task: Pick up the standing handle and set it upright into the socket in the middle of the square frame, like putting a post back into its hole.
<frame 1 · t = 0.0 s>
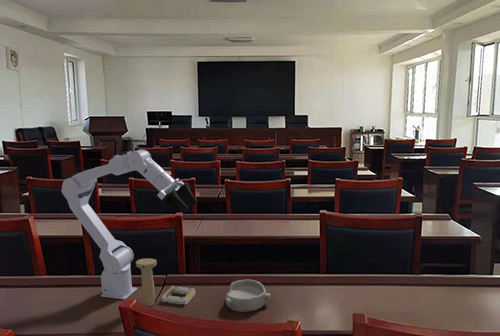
hand: (190, 207, 129), 32 cm above the table, tool tilted 50°, fingers open, 7 cm apart
square frame: (179, 297, 138), on the table
dish: (246, 303, 134), on the table
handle: (149, 305, 134), on the table
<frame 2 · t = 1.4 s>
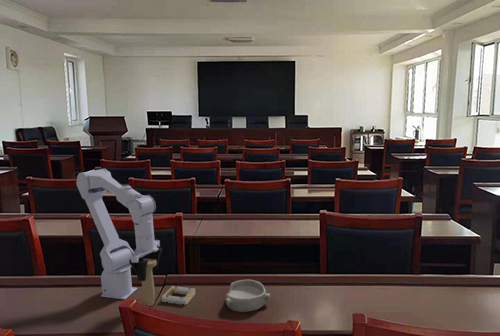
hand: (148, 275, 131), 10 cm above the table, tool pointing down, fingers open, 7 cm apart
nothing on the table moved.
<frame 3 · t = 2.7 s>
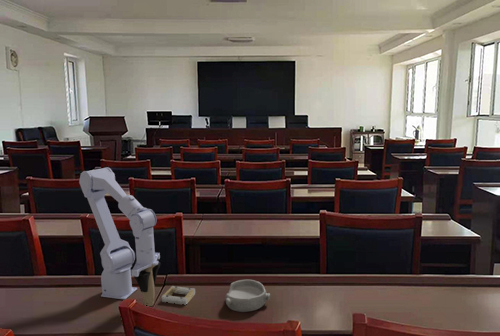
hand: (148, 288, 133), 6 cm above the table, tool pointing down, fingers closed on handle, 4 cm apart
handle: (149, 305, 134), on the table, touching gripper
everything else where it was.
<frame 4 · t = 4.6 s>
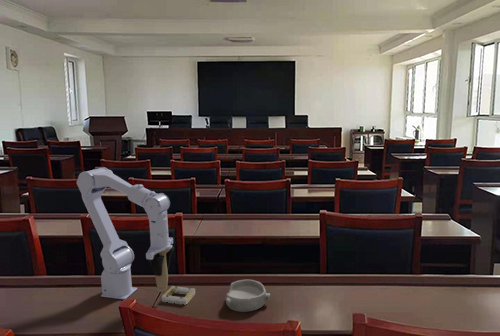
hand: (161, 271, 134), 10 cm above the table, tool pointing down, fingers closed on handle, 4 cm apart
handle: (162, 290, 135), point 4 cm above the table, touching gripper
everything else where it was.
when the fingers open (7 cm above the table, at t = 6.5 s): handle stays where it is, resting in square frame.
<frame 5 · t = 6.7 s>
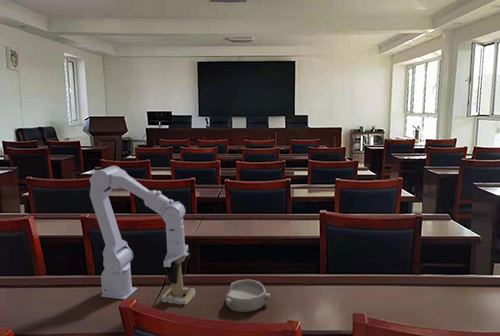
hand: (177, 278, 137), 7 cm above the table, tool pointing down, fingers open, 6 cm apart
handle: (177, 299, 137), resting in square frame
everything else where it was.
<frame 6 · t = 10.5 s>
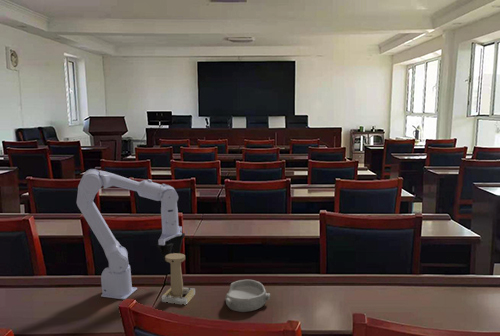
hand: (172, 257, 146), 10 cm above the table, tool pointing down, fingers open, 7 cm apart
nothing on the table moved.
at the end: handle 0.5 cm off-centre on the square frame, point 0.0 cm above the square frame's base; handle tilted 0°; the gripper is holding nothing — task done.
